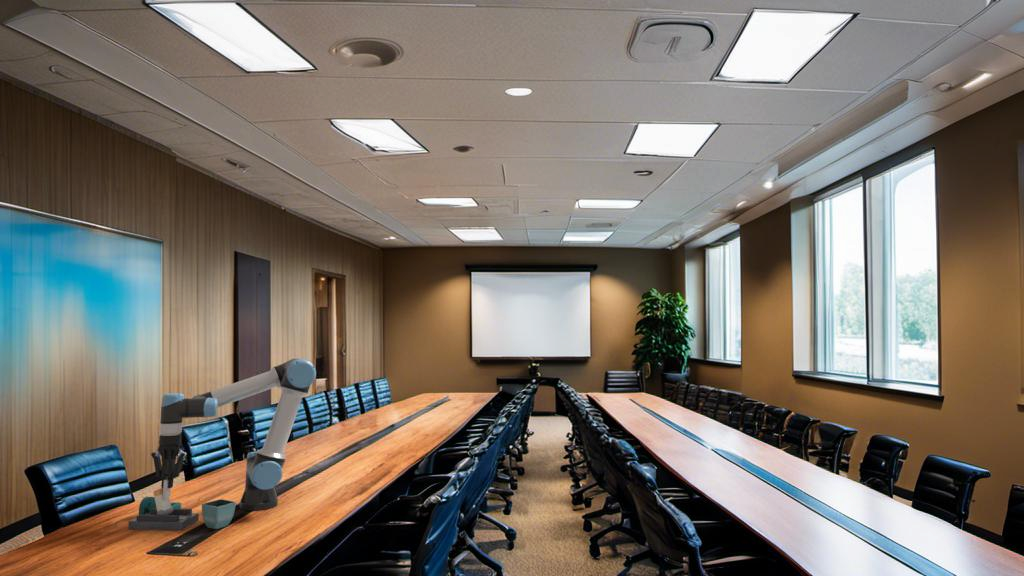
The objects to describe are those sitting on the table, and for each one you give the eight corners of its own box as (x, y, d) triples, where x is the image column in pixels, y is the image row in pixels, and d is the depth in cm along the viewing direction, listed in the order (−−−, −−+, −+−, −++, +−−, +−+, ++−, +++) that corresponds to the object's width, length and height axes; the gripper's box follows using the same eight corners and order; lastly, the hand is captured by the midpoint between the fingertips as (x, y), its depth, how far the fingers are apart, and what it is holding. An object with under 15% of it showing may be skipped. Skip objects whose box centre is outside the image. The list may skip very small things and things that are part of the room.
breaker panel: (198, 521, 237) (198, 512, 237) (181, 530, 225) (182, 521, 225) (147, 520, 237) (148, 511, 237) (128, 529, 225) (128, 520, 225)
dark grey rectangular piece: (191, 513, 236) (192, 508, 236) (176, 521, 225) (176, 516, 226) (153, 512, 236) (153, 508, 237) (136, 520, 226) (136, 515, 226)
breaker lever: (174, 512, 234) (168, 486, 235) (165, 517, 228) (159, 489, 229) (166, 514, 234) (160, 488, 235) (157, 519, 228) (151, 491, 229)
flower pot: (235, 525, 232) (236, 501, 232) (215, 532, 224) (217, 507, 225) (219, 522, 235) (220, 498, 236) (199, 528, 227) (200, 504, 228)
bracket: (153, 520, 237) (155, 499, 238) (138, 519, 238) (139, 498, 239) (184, 508, 255) (185, 489, 256) (169, 507, 256) (171, 488, 257)
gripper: (192, 432, 237) (188, 494, 235) (159, 432, 237) (155, 494, 235) (182, 435, 230) (177, 499, 228) (148, 435, 230) (143, 499, 228)
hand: (166, 496), depth 231 cm, fingers closed
